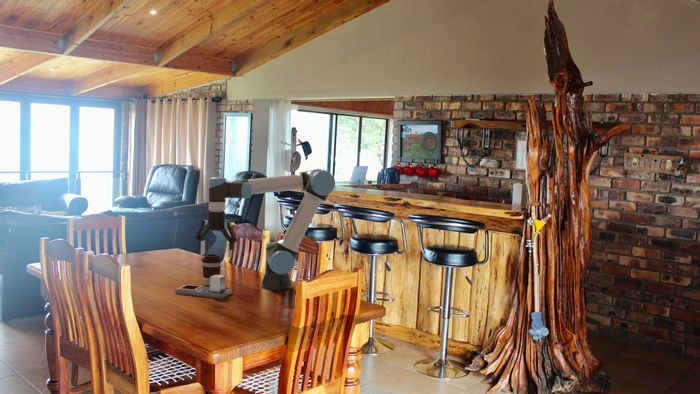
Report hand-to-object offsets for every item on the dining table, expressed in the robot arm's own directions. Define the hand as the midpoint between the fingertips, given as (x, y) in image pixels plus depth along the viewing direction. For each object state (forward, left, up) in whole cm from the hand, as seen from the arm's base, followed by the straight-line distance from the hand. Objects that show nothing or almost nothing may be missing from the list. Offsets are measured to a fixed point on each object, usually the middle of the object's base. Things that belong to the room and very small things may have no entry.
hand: (216, 255), depth 275 cm
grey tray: (+6, +1, -19) cm, 20 cm away
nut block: (-1, +1, -18) cm, 18 cm away
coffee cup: (+12, -18, -19) cm, 29 cm away
